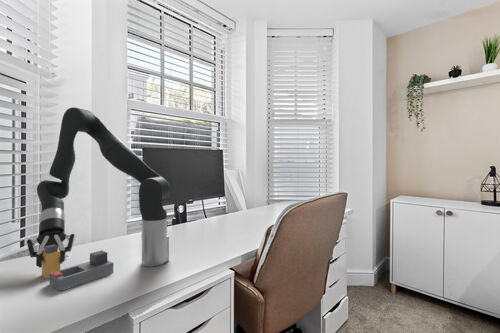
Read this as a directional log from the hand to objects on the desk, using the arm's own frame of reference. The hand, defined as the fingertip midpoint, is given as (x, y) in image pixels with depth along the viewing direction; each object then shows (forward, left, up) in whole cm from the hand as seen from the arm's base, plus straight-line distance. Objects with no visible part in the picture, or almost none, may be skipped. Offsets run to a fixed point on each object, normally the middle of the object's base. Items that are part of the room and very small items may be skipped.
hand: (50, 264), depth 86 cm
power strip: (-6, +10, -4) cm, 12 cm away
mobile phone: (-8, -22, -5) cm, 23 cm away
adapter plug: (-1, -2, -4) cm, 5 cm away
